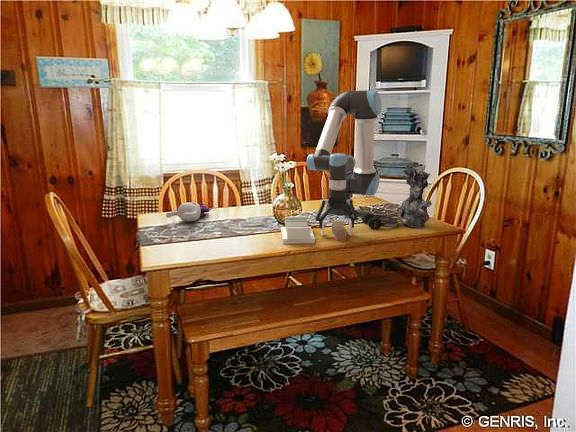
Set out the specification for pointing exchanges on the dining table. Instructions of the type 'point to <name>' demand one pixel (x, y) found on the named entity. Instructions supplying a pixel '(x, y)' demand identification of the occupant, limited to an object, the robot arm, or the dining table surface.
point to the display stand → (297, 231)
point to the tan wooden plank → (338, 230)
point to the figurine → (189, 211)
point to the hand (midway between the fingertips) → (336, 235)
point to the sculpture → (415, 199)
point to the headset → (378, 221)
